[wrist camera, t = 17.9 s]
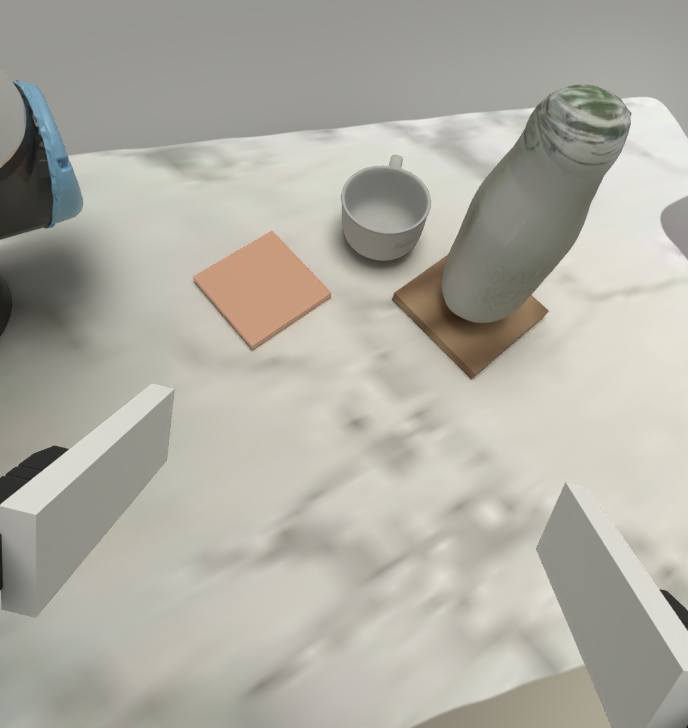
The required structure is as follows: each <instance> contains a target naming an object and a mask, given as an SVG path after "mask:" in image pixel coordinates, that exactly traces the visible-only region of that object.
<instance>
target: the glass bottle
mask: <svg viewBox="0 0 688 728" xmlns="http://www.w3.org/2000/svg"><path fill="white" fill-rule="evenodd" d="M630 116H631V112H630V111H629V110H628V108H627V107H626V106H625V104H624V103H623V101H622V100H621V99H620V98H618V97H617V96H616V95H614V94H613V93H611V92H609V91H607V90H605V89H602V88H599V87H595V86H590V85H573V86H568V87H564V88H562V89H559V90H557V91H555V92H553V93H552V94H550V95H548V96H547V97H546V98H545V99H544V100H542V101H541V103H540V104H539V105H538V106H537V107H536V108H535V110H534V111H533V113H532V114H531V116H530V118H529V120H528V122H527V125H526V128H525V130H524V131H523V133H522V134H521V136H520V138H519V139H518V141H517V142H516V144H515V145H514V147H513V148H512V149H511V150H510V151H509V152H508V153H507V154H506V155H505V156H504V158H503V159H502V160H501V161H500V162H499V163H498V164H497V166H496V167H495V168H494V169H493V170H492V172H491V173H490V174H489V175H488V176H487V177H486V179H485V180H484V181H483V183H482V184H481V186H480V187H479V189H478V190H477V192H476V194H475V196H474V198H473V199H472V201H471V203H470V206H469V208H468V211H467V213H466V215H465V218H464V220H463V223H462V225H461V228H460V230H459V233H458V235H457V237H456V239H455V241H454V244H453V246H452V248H451V250H450V252H449V254H448V257H447V259H446V262H445V266H444V270H443V274H442V280H441V284H442V294H443V297H444V299H445V302H446V305H447V307H448V308H449V309H450V310H451V311H452V312H453V313H454V314H456V315H457V316H459V317H461V318H463V319H465V320H468V321H471V322H475V323H489V322H494V321H498V320H501V319H503V318H505V317H507V316H509V315H511V314H512V313H514V312H515V311H516V310H517V309H519V308H520V307H521V306H522V305H523V304H524V303H525V302H526V300H527V299H528V298H529V297H530V296H531V295H532V293H533V292H534V291H535V290H536V289H537V288H538V286H539V285H540V284H541V283H542V282H543V281H544V279H545V278H546V277H547V276H548V275H549V274H550V273H551V272H552V270H553V269H554V268H555V267H556V266H557V265H558V263H559V262H560V261H561V260H562V259H563V257H564V256H565V255H566V254H567V253H568V251H569V250H570V249H571V247H572V246H573V244H574V243H575V241H576V240H577V238H578V236H579V234H580V231H581V229H582V227H583V225H584V222H585V220H586V217H587V214H588V210H589V207H590V204H591V202H592V200H593V198H594V196H595V194H596V192H597V190H598V187H599V185H600V183H601V181H602V179H603V176H604V175H605V174H606V172H607V171H608V170H609V169H610V167H611V166H612V165H613V164H614V162H615V161H616V159H617V158H618V156H619V155H620V153H621V151H622V149H623V146H624V144H625V141H626V138H627V135H628V133H629V128H630V124H631V122H630Z"/></svg>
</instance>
